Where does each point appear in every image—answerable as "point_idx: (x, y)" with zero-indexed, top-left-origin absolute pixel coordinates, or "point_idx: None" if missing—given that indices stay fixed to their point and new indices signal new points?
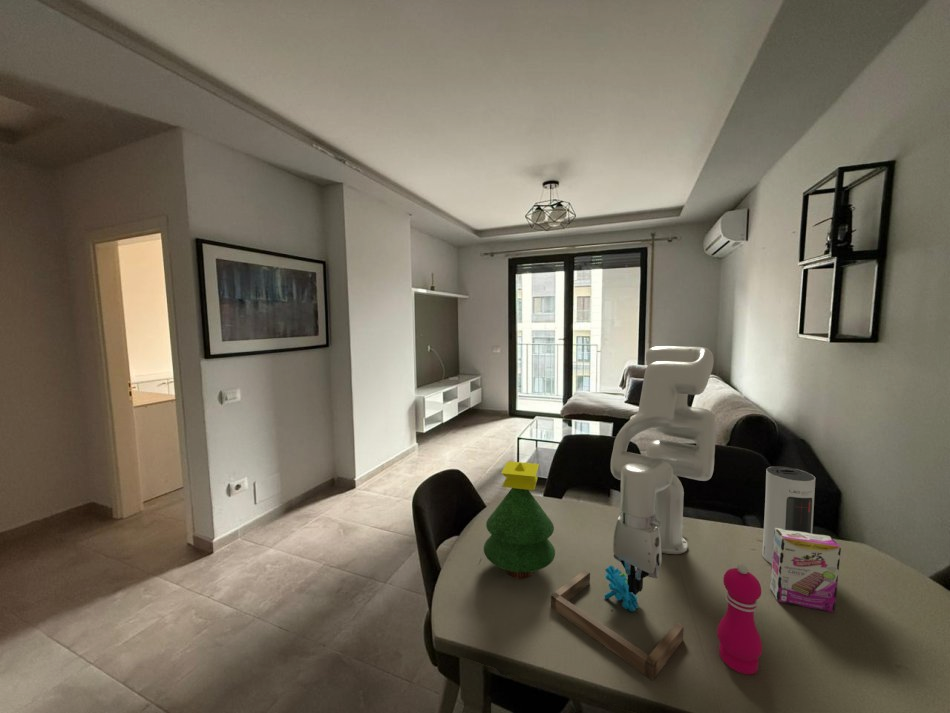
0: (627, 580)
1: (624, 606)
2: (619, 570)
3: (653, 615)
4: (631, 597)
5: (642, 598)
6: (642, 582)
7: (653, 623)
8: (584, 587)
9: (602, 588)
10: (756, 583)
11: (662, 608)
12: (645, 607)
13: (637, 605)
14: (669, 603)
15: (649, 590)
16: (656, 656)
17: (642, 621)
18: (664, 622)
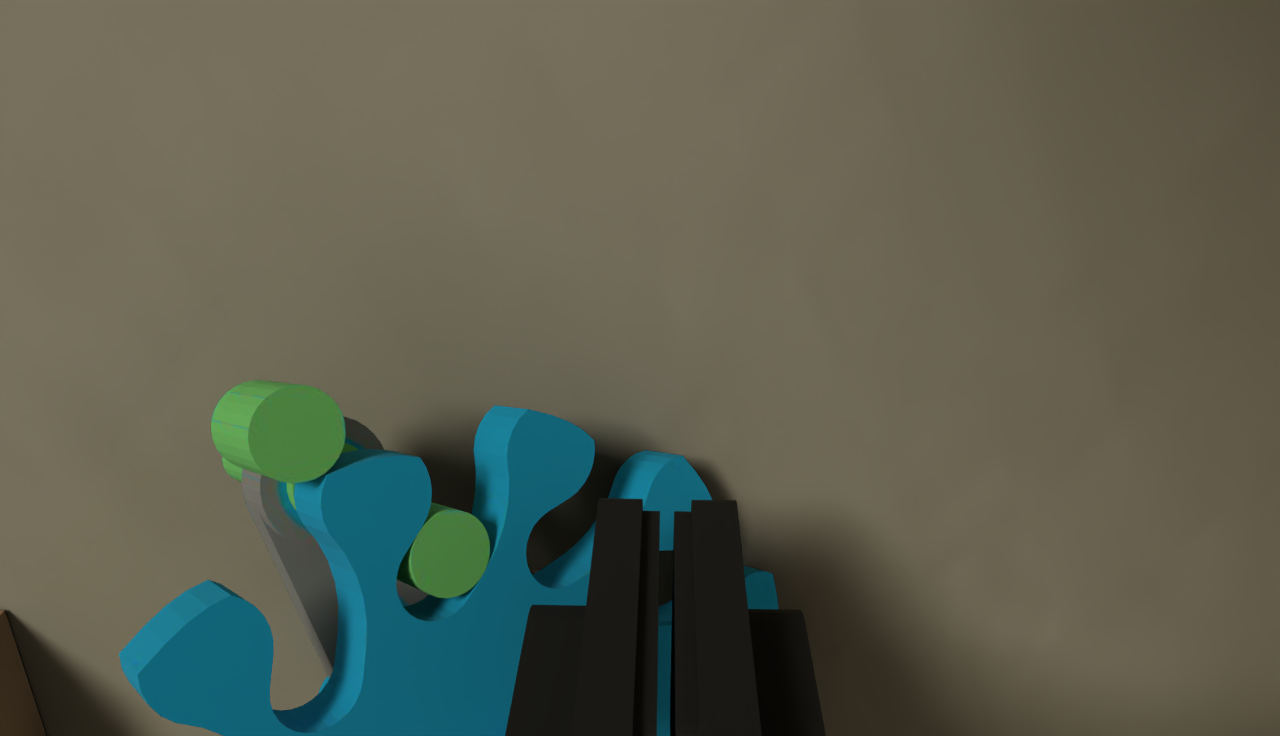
0: (419, 472)
1: None
2: (196, 618)
3: (992, 530)
4: (668, 660)
5: (723, 322)
6: (820, 725)
7: (1035, 651)
8: (38, 724)
9: (185, 564)
10: None
11: (1066, 300)
12: (842, 469)
13: (759, 580)
14: (1144, 81)
15: (724, 12)
16: None
17: (908, 710)
18: (1159, 542)
